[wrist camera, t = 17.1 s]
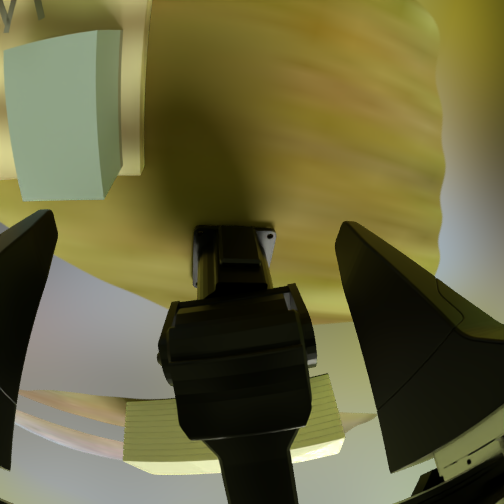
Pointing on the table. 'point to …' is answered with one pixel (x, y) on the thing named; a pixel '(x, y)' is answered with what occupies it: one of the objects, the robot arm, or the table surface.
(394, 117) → the table surface
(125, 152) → the maple board
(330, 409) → the stack of papers
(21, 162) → the block
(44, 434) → the table surface
